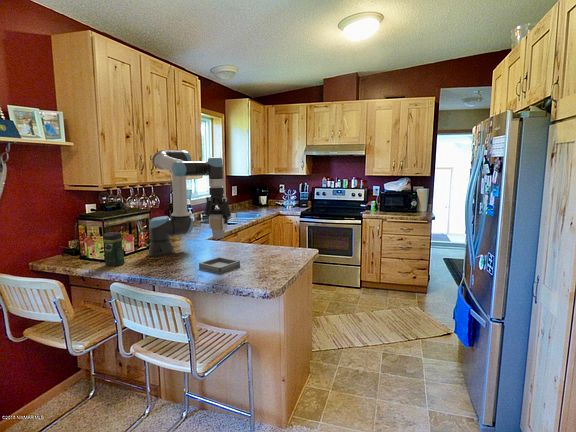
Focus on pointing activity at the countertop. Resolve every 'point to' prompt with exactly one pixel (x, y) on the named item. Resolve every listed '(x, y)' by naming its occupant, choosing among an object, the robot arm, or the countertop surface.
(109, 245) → the coffee jar
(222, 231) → the coffee cup
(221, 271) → the tray
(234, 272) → the countertop surface
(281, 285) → the countertop surface
